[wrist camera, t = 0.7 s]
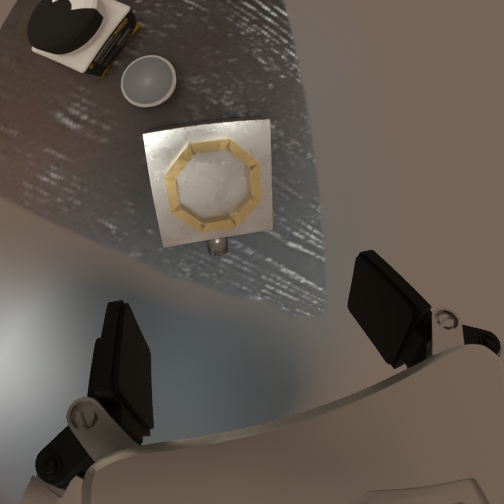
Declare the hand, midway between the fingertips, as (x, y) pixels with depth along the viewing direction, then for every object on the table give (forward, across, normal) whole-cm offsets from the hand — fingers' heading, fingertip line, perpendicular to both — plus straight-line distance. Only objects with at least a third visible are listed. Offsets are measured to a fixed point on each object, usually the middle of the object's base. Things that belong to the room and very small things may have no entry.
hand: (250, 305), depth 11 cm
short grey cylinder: (+24, +4, -10) cm, 26 cm away
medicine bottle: (+24, +10, -17) cm, 31 cm away
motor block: (+23, -1, +2) cm, 24 cm away
